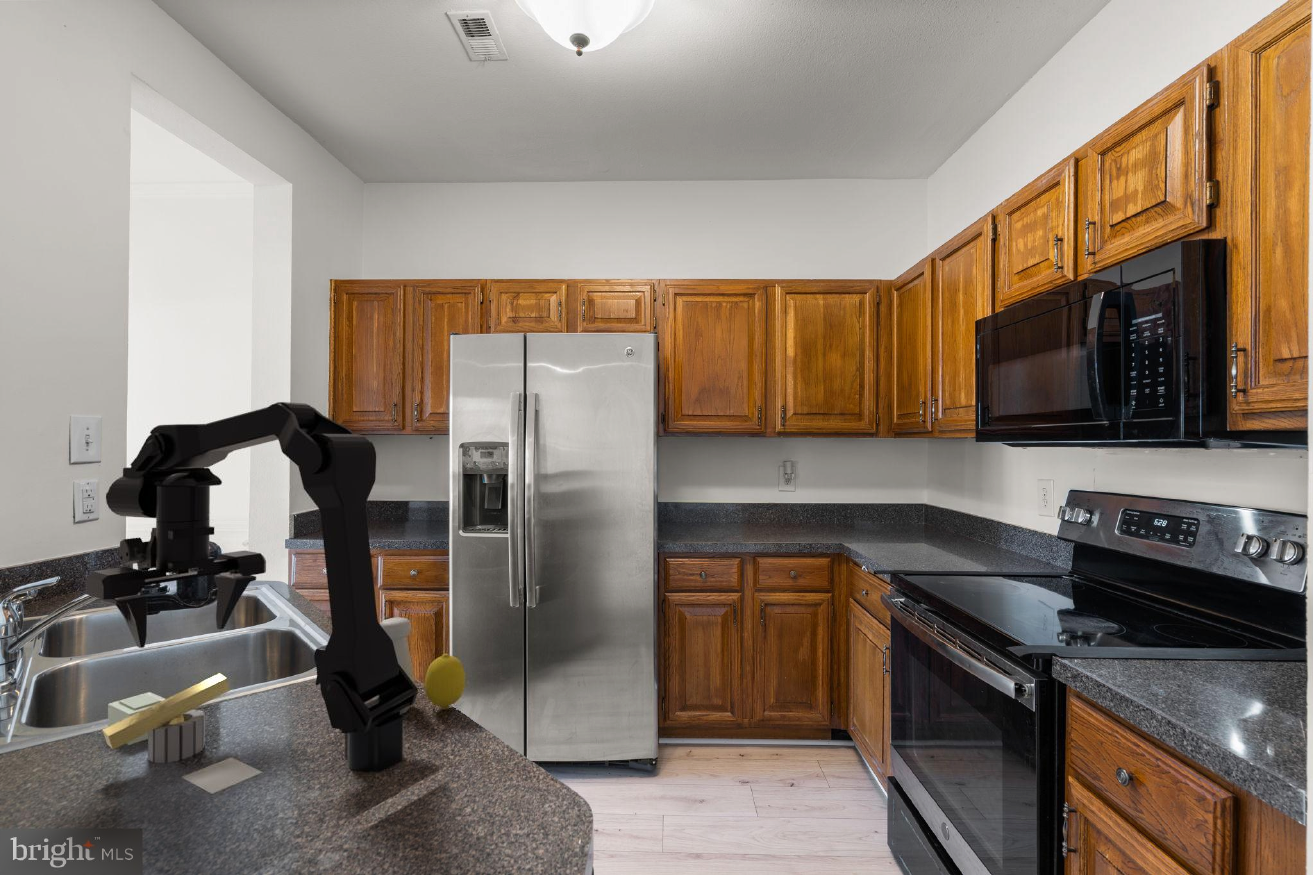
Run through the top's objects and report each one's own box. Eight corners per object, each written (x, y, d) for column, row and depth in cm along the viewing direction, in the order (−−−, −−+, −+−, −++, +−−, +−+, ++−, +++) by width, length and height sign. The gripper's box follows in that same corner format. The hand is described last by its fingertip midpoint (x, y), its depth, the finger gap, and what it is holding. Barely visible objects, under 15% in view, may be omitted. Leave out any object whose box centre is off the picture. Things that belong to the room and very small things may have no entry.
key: (231, 716, 84) (219, 673, 82) (238, 721, 83) (226, 678, 81) (117, 776, 74) (102, 729, 73) (124, 783, 73) (108, 736, 72)
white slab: (283, 772, 75) (283, 729, 75) (186, 815, 67) (186, 766, 67) (207, 737, 84) (207, 698, 84) (113, 771, 75) (113, 728, 75)
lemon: (426, 720, 90) (426, 662, 90) (423, 705, 95) (423, 650, 95) (467, 713, 92) (467, 657, 92) (462, 699, 97) (463, 645, 97)
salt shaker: (400, 720, 89) (400, 626, 89) (363, 716, 91) (364, 623, 91) (423, 703, 95) (424, 615, 95) (388, 700, 96) (389, 613, 96)
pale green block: (171, 740, 84) (171, 699, 84) (129, 754, 80) (129, 712, 80) (149, 729, 87) (149, 690, 87) (107, 742, 83) (108, 701, 83)
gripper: (227, 509, 98) (226, 613, 98) (67, 523, 82) (66, 646, 82) (268, 514, 92) (267, 624, 92) (106, 529, 76) (104, 662, 76)
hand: (182, 637), depth 86 cm, fingers open, 9 cm apart
